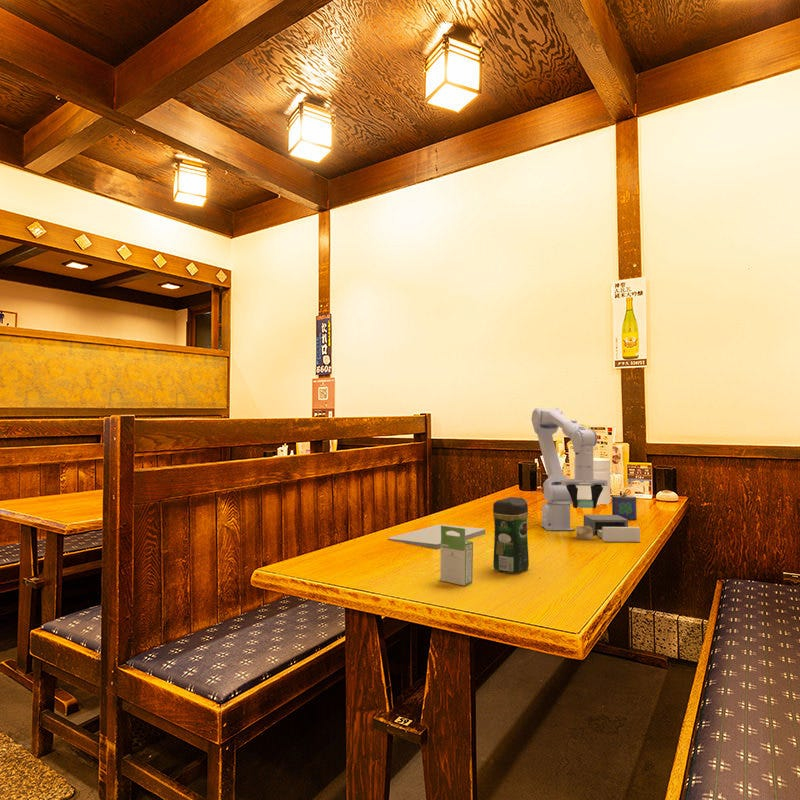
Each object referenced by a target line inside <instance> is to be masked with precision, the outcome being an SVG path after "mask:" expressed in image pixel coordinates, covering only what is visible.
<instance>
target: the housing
mask: <svg viewBox="0 0 800 800" xmlns="http://www.w3.org/2000/svg"><path fill="white" fill-rule="evenodd" d="M583 526H589V527H591V528H592V529H593V536H596V531H597V530H602V527H629V520H627V519H625V518H623V517H621V516H619V515H612V514H583Z"/></svg>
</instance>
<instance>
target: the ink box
mask: <svg viewBox="0 0 800 800" xmlns="http://www.w3.org/2000/svg"><path fill="white" fill-rule="evenodd" d="M448 531H455V532H457V533H459V534H460V536H453V535H447V534H446V532H448ZM473 554H474V542H473V541H470V540H465V529H463V528H456V527H448V526H441V549H440V569H439V570H440V575H439V576H440V579H439V580H440V581H442V582H446V583H451V584H455V585H459V586H464V587H465V586H468V585H471V584H472V583H473V577H474V576H473V574H474V573H473V571H474V570H473V569H474V567H473V565H474V564H473V562H474V558H473V557H474V555H473Z"/></svg>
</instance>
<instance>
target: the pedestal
mask: <svg viewBox="0 0 800 800" xmlns="http://www.w3.org/2000/svg"><path fill="white" fill-rule="evenodd" d="M593 536H594V535H593V529H592V528H591V527H589V526H584V525H577V526H576V538H577V539H579V540H587V541H588V540H594V537H593Z"/></svg>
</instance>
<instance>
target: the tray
mask: <svg viewBox="0 0 800 800" xmlns="http://www.w3.org/2000/svg"><path fill="white" fill-rule="evenodd" d="M596 533H597V534H596V536H598V537H599V538H601V541H602V542H610V543H611V542H617V543H618V542H620V543H621V542H622V543H623V542H624V543H625V542H627V543H629V542H630V543H632V542H633V543H634V542H635V543H636V542H639V543H640V542H641V527H638V526H628V527H602V530H596Z"/></svg>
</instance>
